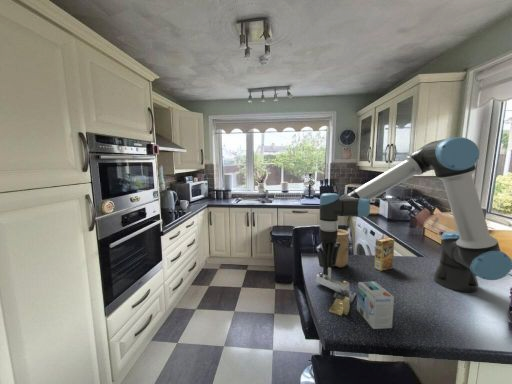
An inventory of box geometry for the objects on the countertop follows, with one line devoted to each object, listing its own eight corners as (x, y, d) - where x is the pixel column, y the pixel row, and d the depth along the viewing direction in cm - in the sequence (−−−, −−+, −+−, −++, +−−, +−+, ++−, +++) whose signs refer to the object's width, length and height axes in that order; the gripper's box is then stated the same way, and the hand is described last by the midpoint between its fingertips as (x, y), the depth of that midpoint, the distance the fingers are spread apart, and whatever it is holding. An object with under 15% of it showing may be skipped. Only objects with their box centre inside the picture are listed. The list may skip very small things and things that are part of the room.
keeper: (352, 304, 87) (352, 291, 87) (346, 317, 79) (346, 304, 79) (336, 299, 90) (336, 287, 90) (328, 311, 83) (329, 298, 82)
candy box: (381, 271, 115) (382, 241, 113) (373, 267, 119) (375, 239, 117) (393, 268, 118) (395, 239, 116) (385, 265, 122) (387, 237, 120)
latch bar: (350, 293, 92) (351, 282, 92) (346, 296, 90) (346, 284, 90) (320, 279, 103) (320, 269, 103) (315, 282, 101) (315, 271, 101)
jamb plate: (355, 294, 93) (355, 292, 93) (351, 303, 88) (351, 300, 88) (338, 289, 97) (338, 287, 97) (333, 297, 92) (333, 295, 92)
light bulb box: (356, 309, 84) (357, 281, 83) (373, 308, 85) (375, 280, 83) (373, 329, 73) (375, 298, 72) (393, 328, 74) (395, 297, 73)
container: (320, 265, 122) (320, 232, 120) (327, 257, 132) (327, 227, 130) (344, 271, 115) (346, 236, 113) (350, 262, 125) (351, 230, 123)
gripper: (332, 225, 105) (331, 274, 107) (311, 229, 99) (310, 281, 101) (345, 229, 98) (344, 281, 101) (324, 233, 92) (322, 289, 95)
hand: (327, 281), depth 101 cm, fingers closed
